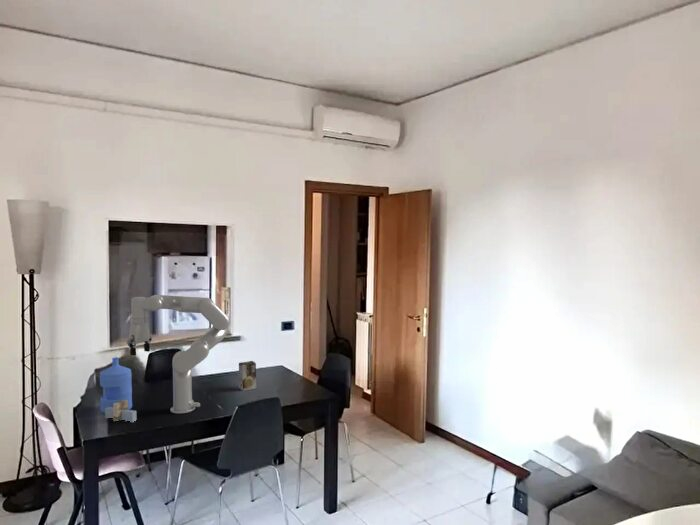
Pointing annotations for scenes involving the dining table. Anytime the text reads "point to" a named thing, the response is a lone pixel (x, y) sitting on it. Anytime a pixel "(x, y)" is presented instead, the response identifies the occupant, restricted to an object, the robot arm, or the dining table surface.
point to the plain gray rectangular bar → (126, 414)
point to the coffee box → (247, 375)
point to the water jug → (115, 385)
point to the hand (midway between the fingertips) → (140, 353)
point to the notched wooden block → (119, 409)
